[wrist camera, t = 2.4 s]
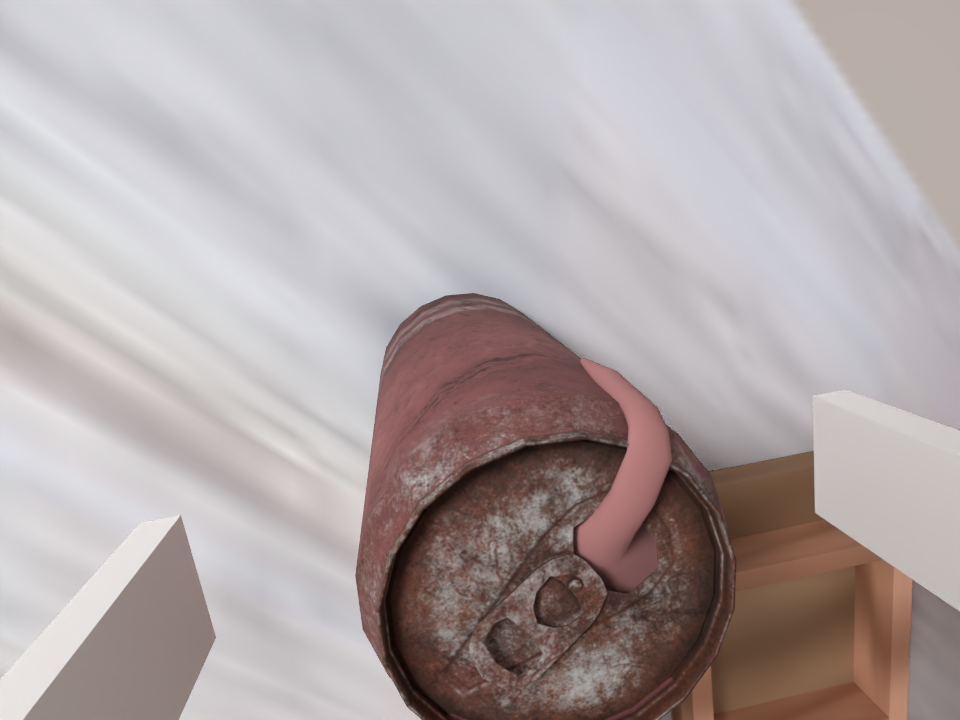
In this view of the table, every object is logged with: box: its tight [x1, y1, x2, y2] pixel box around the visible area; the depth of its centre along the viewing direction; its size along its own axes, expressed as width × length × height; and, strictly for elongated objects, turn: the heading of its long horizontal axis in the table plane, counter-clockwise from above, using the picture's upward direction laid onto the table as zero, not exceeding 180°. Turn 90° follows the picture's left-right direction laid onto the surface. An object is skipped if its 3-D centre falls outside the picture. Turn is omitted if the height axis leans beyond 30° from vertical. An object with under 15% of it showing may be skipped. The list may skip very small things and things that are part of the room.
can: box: [355, 293, 736, 720], centre depth 15 cm, size 6×6×14 cm
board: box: [660, 451, 913, 720], centre depth 24 cm, size 14×20×3 cm
